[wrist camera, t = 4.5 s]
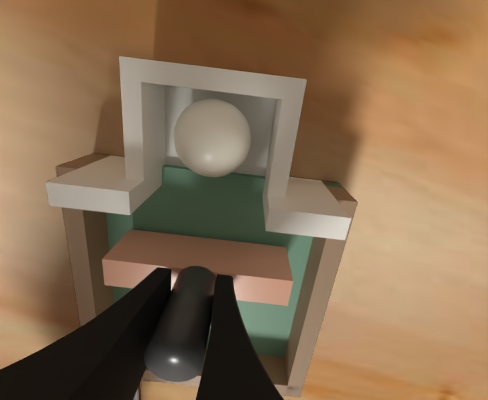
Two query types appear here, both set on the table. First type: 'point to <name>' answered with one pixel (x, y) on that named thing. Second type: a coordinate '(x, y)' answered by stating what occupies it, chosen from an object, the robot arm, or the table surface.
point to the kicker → (194, 289)
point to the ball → (212, 137)
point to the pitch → (210, 202)
